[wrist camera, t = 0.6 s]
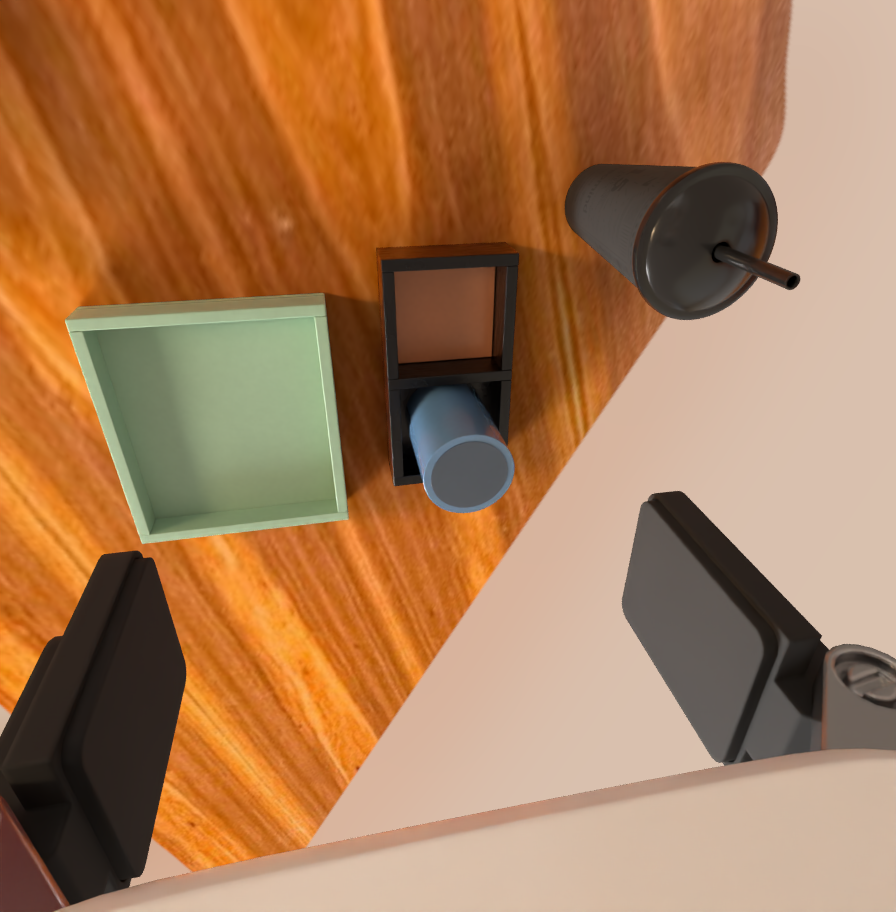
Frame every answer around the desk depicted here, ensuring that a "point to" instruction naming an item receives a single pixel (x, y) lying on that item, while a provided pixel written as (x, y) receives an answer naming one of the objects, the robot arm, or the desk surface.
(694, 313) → the drinking cup
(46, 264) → the desk surface
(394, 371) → the black divided tray
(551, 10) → the desk surface
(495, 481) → the blue cup
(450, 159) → the desk surface
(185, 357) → the tray
